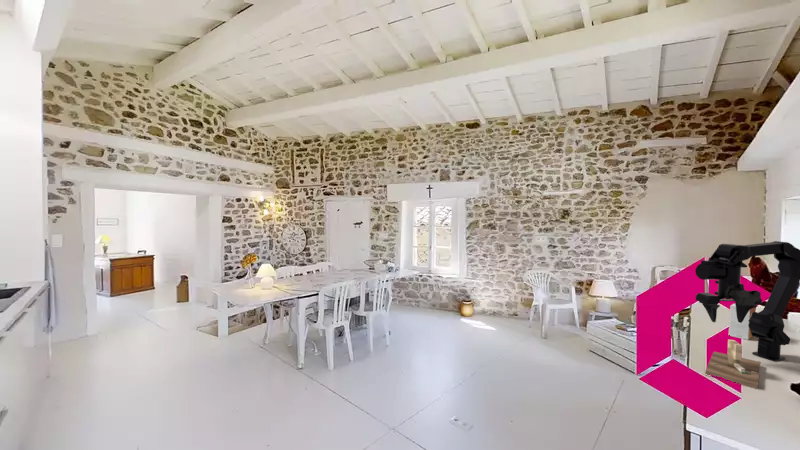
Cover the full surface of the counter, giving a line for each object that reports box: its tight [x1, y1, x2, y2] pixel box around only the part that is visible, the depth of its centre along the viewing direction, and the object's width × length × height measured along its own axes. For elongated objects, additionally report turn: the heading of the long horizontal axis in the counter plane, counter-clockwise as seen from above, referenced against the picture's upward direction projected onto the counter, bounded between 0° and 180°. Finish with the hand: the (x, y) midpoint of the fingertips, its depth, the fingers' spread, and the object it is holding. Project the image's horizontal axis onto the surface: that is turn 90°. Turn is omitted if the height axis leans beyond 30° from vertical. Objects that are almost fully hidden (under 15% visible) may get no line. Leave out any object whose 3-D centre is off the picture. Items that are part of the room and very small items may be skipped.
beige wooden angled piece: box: [726, 339, 745, 372], centre depth 117 cm, size 8×3×8 cm, turn 160°
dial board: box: [704, 351, 761, 390], centre depth 119 cm, size 22×12×2 cm, turn 133°
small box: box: [728, 303, 757, 341], centre depth 150 cm, size 8×6×13 cm
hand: (726, 322), depth 128 cm, fingers open, 9 cm apart
